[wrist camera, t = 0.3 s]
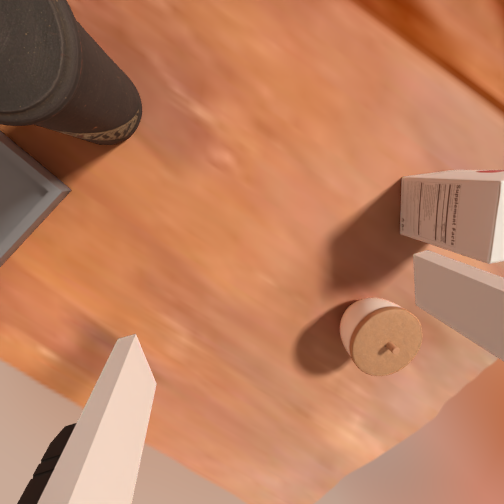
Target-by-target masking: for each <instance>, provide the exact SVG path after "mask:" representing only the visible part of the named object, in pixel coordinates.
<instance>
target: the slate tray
mask: <svg viewBox="0 0 504 504" xmlns="http://www.w3.org/2000/svg"><path fill="white" fill-rule="evenodd" d="M70 191H71V189H70V188H69V187H67V186H66V185H65V184H64V183H63V182H61V181H60V180H59V179H58V178H57V177H55V176H54V175H53V174H52V173H51V172H49V171H48V170H47V169H46V168H45V167H43V166H42V165H41V164H40V163H38V162H37V161H36V160H35V159H34V158H32V157H31V156H30V155H29V154H28V153H26V152H25V151H24V150H23V149H22V148H20V147H19V146H18V145H17V144H16V143H14V142H13V141H12V140H11V139H10V138H8V137H7V136H6V135H5V134H4V133H2V132H1V131H0V267H1V266H2V265H3V264H4V263H5V261H6V260H7V259H8V258H9V257H10V256H11V255H12V254H13V253H14V252H15V251H16V250H17V248H18V247H19V246H20V245H21V244H22V243H23V242H24V241H25V240H26V239H27V238H28V237H29V236H30V234H31V233H32V232H33V231H34V230H35V229H36V228H37V227H38V226H39V225H40V224H41V223H42V222H43V220H44V219H45V218H46V217H47V216H48V215H49V214H50V213H51V212H52V211H53V210H54V209H55V208H56V206H57V205H58V204H59V203H60V202H61V201H62V200H63V199H64V198H65V197H66V196H67V195H68V194H69V192H70Z"/></svg>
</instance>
